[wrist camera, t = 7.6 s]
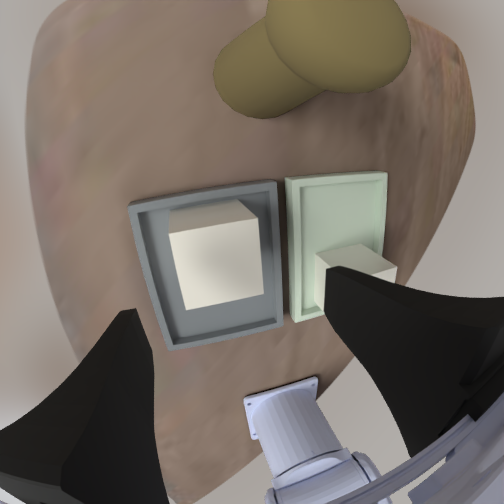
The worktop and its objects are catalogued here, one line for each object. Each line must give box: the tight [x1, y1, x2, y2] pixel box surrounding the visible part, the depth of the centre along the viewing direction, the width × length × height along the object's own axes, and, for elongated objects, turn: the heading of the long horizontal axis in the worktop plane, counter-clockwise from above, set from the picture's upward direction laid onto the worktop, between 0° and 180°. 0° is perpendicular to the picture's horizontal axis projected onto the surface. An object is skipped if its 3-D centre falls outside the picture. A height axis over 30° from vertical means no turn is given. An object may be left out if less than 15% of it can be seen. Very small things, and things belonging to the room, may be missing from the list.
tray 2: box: [284, 170, 387, 323], centre depth 20 cm, size 11×8×1 cm
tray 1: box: [127, 179, 283, 351], centre depth 18 cm, size 11×9×1 cm
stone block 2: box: [314, 244, 397, 312], centre depth 19 cm, size 4×4×4 cm
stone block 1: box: [169, 199, 264, 310], centre depth 16 cm, size 4×4×4 cm
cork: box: [213, 0, 411, 119], centre depth 10 cm, size 6×6×11 cm
